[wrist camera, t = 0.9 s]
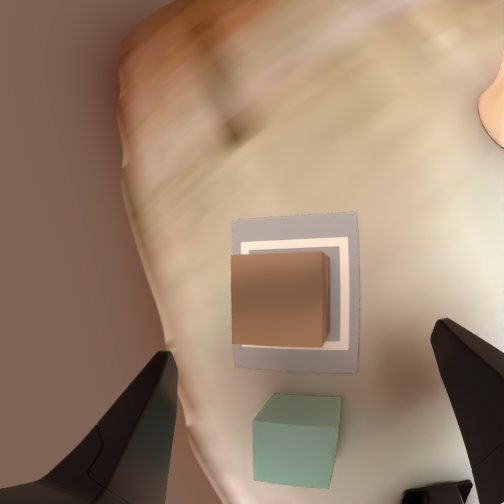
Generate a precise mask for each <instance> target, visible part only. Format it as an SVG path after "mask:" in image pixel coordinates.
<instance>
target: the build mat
mask: <svg viewBox="0 0 504 504" xmlns="http://www.w3.org/2000/svg"><path fill="white" fill-rule="evenodd" d="M232 241H233V255H240V254H266V253H291V252H316V251H322V252H323V253H325V254H326V255H327V256H329V257H330V332H329V334H328V337H327V339H326V341H325V343H324V345H323V347H322V348H310V347H278V346H258V345H242V344H234V367H237V368H247V369H259V370H272V371H289V372H313V373H357V371H358V352H359V320H360V279H359V246H358V227H357V212H342V213H325V214H308V215H293V216H279V217H265V218H252V219H239V220H232Z"/></svg>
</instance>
